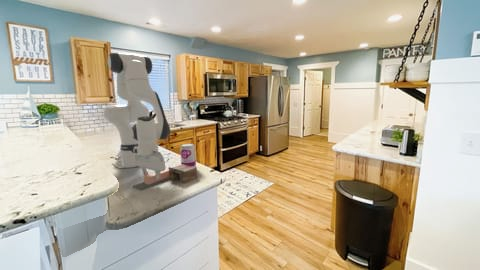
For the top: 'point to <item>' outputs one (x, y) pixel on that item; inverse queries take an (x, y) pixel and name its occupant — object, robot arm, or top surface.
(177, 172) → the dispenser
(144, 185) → the mat
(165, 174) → the pink rectangular block
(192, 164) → the supplement can
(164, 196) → the top surface
